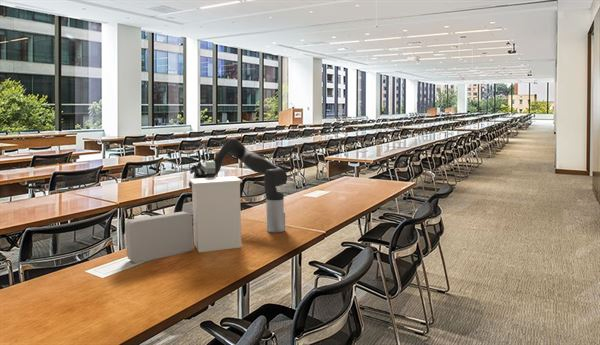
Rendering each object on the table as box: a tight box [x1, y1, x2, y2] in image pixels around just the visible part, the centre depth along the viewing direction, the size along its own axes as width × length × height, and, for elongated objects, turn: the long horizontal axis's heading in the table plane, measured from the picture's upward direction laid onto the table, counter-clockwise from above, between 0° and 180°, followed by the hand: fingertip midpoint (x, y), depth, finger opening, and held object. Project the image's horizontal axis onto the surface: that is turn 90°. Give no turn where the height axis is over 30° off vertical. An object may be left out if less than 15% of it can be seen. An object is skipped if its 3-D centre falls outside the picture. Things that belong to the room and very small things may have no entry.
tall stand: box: [189, 175, 243, 253], centre depth 213 cm, size 22×14×32 cm, turn 111°
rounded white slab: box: [124, 211, 194, 264], centre depth 201 cm, size 29×8×18 cm, turn 129°
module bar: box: [200, 160, 215, 174], centre depth 230 cm, size 4×24×6 cm, turn 21°
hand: (204, 163), depth 237 cm, fingers closed on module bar, 4 cm apart
